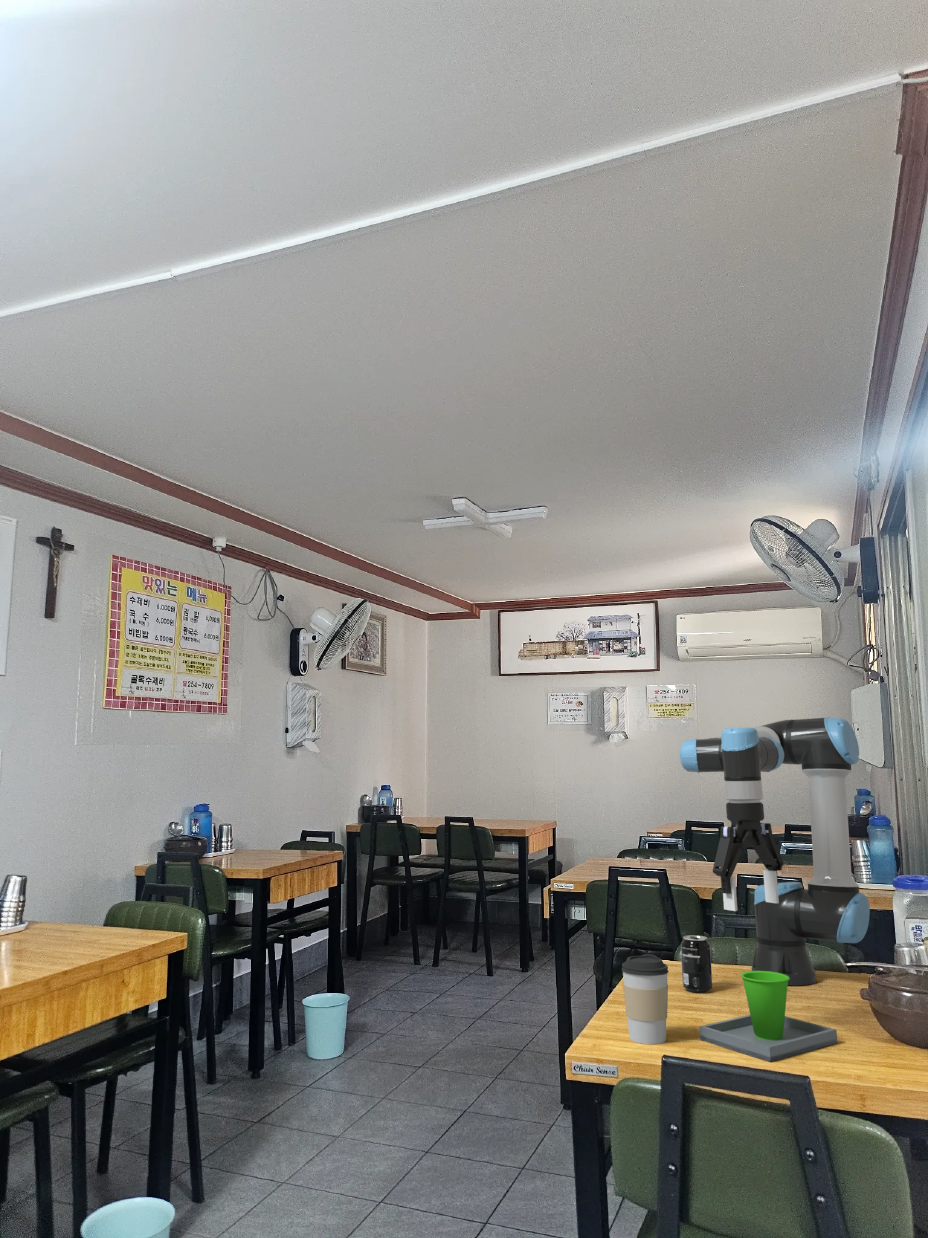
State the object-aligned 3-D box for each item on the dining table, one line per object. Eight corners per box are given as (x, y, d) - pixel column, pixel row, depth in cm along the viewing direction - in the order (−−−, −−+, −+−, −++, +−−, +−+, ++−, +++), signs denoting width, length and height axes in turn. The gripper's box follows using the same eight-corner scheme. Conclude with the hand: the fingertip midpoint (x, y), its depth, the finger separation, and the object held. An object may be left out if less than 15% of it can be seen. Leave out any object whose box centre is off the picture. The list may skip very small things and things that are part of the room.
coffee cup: (662, 1049, 159) (658, 963, 162) (616, 1041, 164) (613, 958, 166) (677, 1037, 166) (674, 955, 169) (633, 1029, 171) (630, 950, 174)
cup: (797, 1045, 158) (793, 982, 160) (746, 1042, 160) (743, 980, 162) (789, 1031, 167) (785, 971, 169) (741, 1028, 169) (738, 970, 171)
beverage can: (701, 986, 207) (699, 934, 209) (718, 993, 201) (715, 939, 203) (677, 988, 205) (674, 936, 207) (693, 995, 199) (690, 941, 201)
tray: (766, 1023, 175) (765, 1011, 176) (837, 1043, 162) (836, 1029, 163) (699, 1039, 164) (699, 1026, 165) (770, 1062, 151) (769, 1047, 152)
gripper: (765, 798, 190) (773, 897, 187) (690, 803, 176) (697, 911, 173) (795, 799, 184) (804, 901, 181) (720, 804, 170) (727, 916, 167)
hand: (751, 906), depth 177 cm, fingers open, 13 cm apart
